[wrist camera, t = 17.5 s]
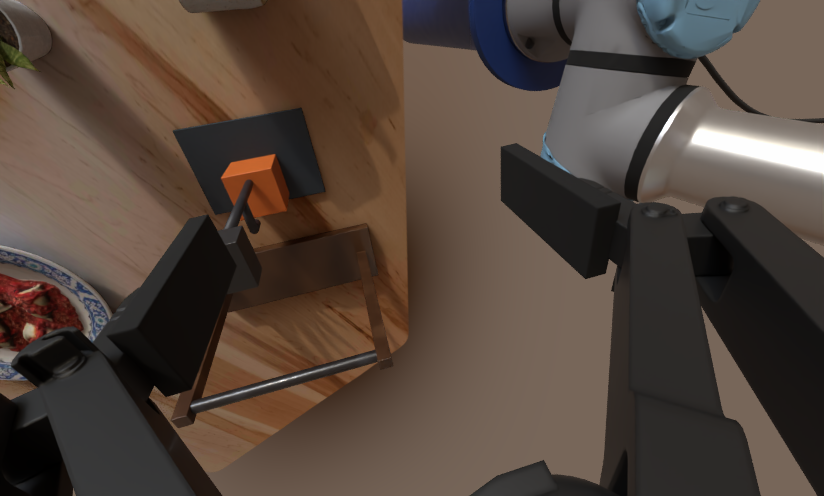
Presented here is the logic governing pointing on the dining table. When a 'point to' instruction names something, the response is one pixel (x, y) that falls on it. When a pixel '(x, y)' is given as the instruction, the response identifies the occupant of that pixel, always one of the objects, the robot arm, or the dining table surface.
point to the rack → (285, 277)
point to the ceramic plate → (42, 304)
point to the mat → (251, 152)
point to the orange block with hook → (251, 212)
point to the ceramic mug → (219, 5)
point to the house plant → (21, 38)
